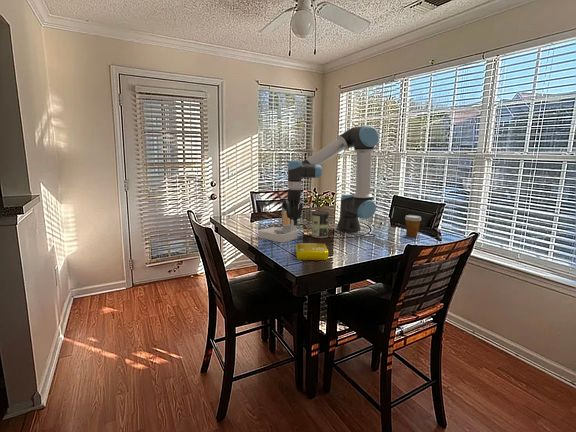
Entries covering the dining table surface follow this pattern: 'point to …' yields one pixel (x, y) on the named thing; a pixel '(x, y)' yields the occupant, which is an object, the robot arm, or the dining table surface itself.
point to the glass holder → (283, 211)
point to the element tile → (311, 251)
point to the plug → (285, 219)
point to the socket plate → (277, 235)
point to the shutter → (284, 229)
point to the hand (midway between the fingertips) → (293, 230)
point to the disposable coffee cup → (412, 225)
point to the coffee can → (320, 224)
